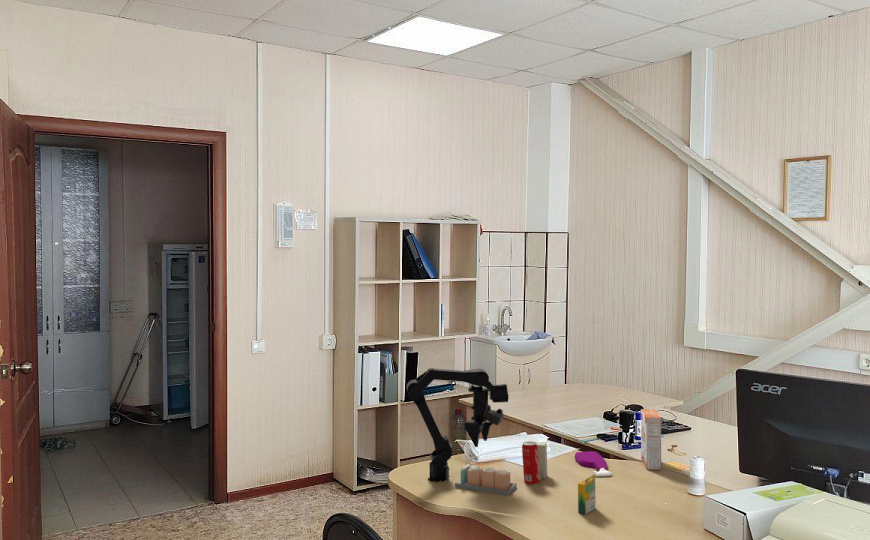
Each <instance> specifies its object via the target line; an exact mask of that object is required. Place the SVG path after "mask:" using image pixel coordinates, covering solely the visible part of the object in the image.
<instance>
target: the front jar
mask: <svg viewBox="0 0 870 540" xmlns="http://www.w3.org/2000/svg"><path fill="white" fill-rule="evenodd" d="M510 483H511V471H510V472H509V471H508V470H506V469H498V470H497V473H496V474H494V487H495V489H502V490H508V489H509V488H510Z"/></svg>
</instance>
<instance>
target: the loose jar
mask: <svg viewBox="0 0 870 540" xmlns="http://www.w3.org/2000/svg"><path fill="white" fill-rule="evenodd" d="M482 472H484V468H482V467H481V466H479V465H470V469H469V470H468V484H469V485H476V486H482Z"/></svg>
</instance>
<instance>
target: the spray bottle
mask: <svg viewBox="0 0 870 540" xmlns="http://www.w3.org/2000/svg"><path fill="white" fill-rule="evenodd" d="M574 459H575V461H576V462H577V464H578V465H580V466H582V467H586V468H590V469H595V470H596V471H595V470H591V473H593V474H592V476H593V475H594V474H595V477H597V478H598V477H610V476H613V472H612V471H609V470H608V464H607V461H606V459H605V458H604V457H603V456H602V455H600V454H599V453H598V452H597V451H594V450H593V451H591V450H590V451H576V452H575V454H574Z"/></svg>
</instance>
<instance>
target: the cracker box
mask: <svg viewBox="0 0 870 540" xmlns="http://www.w3.org/2000/svg"><path fill="white" fill-rule="evenodd" d="M640 439H641V440H640V445H641V447H640V449H641V451H640V452H641V453H640V454H641V457H640V459H641V461H642V462H643V464H644V466H645V469H646V470H647V471H662V417H661V416H660V415H659V414H658V412H657V411H656V409H651V408H649V409H647V408H646V409H645V408H641V409H640Z"/></svg>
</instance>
